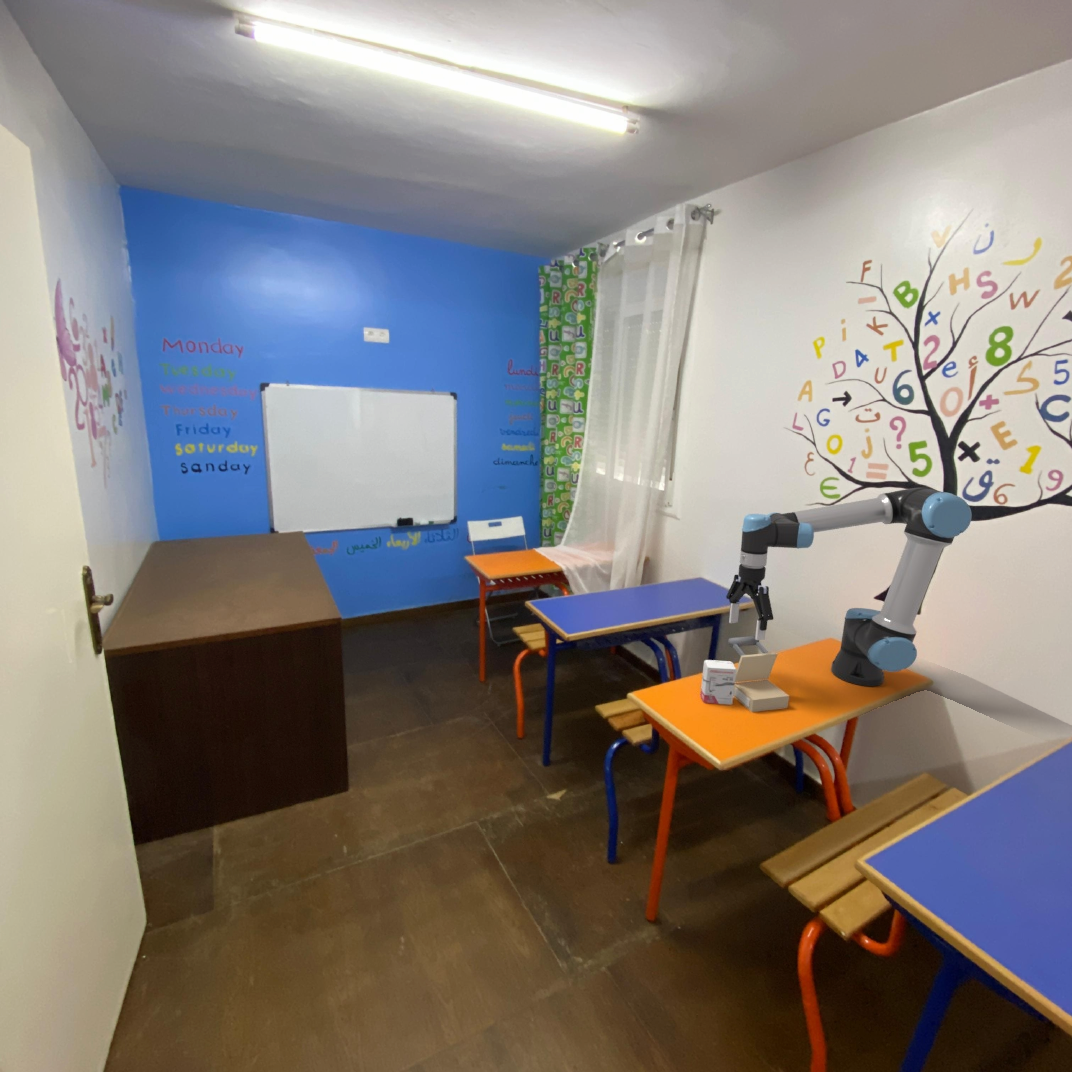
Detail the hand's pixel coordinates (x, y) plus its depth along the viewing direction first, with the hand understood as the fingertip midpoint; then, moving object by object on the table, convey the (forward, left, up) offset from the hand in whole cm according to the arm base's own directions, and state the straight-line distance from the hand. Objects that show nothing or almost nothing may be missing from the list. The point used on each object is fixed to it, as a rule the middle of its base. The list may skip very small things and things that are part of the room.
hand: (746, 630), depth 167 cm
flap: (0, +7, -9) cm, 12 cm away
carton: (0, +10, -18) cm, 21 cm away
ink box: (+13, +7, -19) cm, 24 cm away
